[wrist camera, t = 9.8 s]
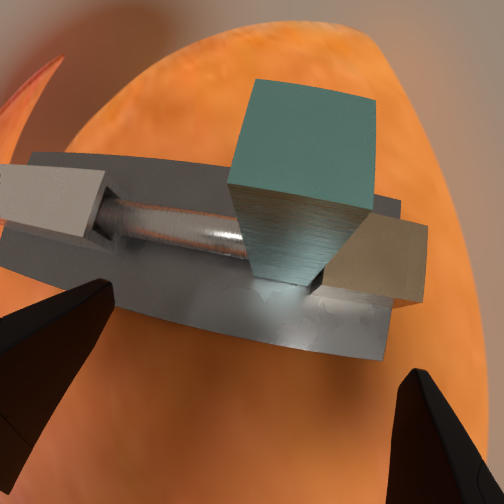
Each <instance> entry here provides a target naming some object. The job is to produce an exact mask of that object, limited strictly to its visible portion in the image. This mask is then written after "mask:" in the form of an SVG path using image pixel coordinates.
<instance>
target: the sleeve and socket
mask: <svg viewBox="0 0 504 504" xmlns="http://www.w3.org/2000/svg"><path fill="white" fill-rule="evenodd" d="M230 169H231V168H230V167H223V166H216V165H208V164H200V163H192V162H183V161H174V160H165V159H155V158H144V157H132V156H119V155H104V154H87V153H63V152H32V154H31V157H30V159H29V161H28V163H27V165H10V164H0V224H1V225H3V226H4V229H3V232H2V236H1V239H0V266H1V267H4V268H6V269H9V270H11V271H14V272H16V273H19V274H22V275H24V276H27V277H30V278H32V279H35V280H38V281H40V282H43V283H46V284H49V285H52V286H55V287H57V288H60V289H63V290H66V291H67V290H70V289H72V288H75V287H77V286H80V285H82V284H85V283H87V282H90V281H92V280H95V279H98V278H103V279H105V280H108V281H110V282H112V284H113V290H114V297H115V306H117V307H120V308H123V309H127V310H130V311H134V312H137V313H141V314H145V315H148V316H152V317H156V318H159V319H163V320H167V321H171V322H175V323H179V324H183V325H187V326H191V327H195V328H199V329H203V330H207V331H212V332H216V333H221V334H225V335H230V336H234V337H239V338H244V339H248V340H253V341H258V342H263V343H269V344H274V345H279V346H285V347H290V348H296V349H302V350H308V351H314V352H320V353H326V354H333V355H340V356H347V357H354V358H361V359H369V360H377V361H383V357H384V352H385V347H386V341H387V335H388V329H389V323H390V317H391V310H392V309H393V308H398V307H403V306H408V305H413V304H418V303H423V294H424V284H425V273H426V259H427V240H428V226H426V225H422V224H418V223H414V222H410V221H405V220H401V219H400V213H401V200H397V199H393V198H389V197H384V196H380V195H376V194H374V198H373V210H372V212H371V213H370V214H369V215H368V216H367V218H366V219H365V220H364V221H363V222H362V224H361V225H360V226H359V227H358V228H357V230H356V231H355V232H354V233H353V234H352V235H351V237H350V238H349V239H348V240H347V241H346V242H345V244H344V245H343V246H342V247H341V248H340V249H339V251H338V252H337V253H336V254H335V255H334V256H333V258H332V259H331V260H330V261H329V262H328V263H327V264H326V266H325V267H324V268H323V269H322V273H318V275H317V276H316V277H315V278H314V279H313V280H312V281H311V282H310V283H309V285H308V286H303V285H298V284H293V283H287V282H282V281H277V280H271V279H266V278H261V277H256V276H254V275H253V272H252V268H251V265H250V262H249V260H248V259H243V258H238V257H232V256H227V255H222V254H217V253H211V252H206V251H201V250H196V249H191V248H186V247H180V246H175V245H170V244H165V243H160V242H155V241H150V240H145V239H140V238H135V237H129V236H124V235H119V234H114V233H109V232H104V231H99V230H94V229H92V227H93V223H94V220H95V217H96V214H97V211H98V208H99V205H100V202H101V199H102V196H103V197H110V198H117V199H124V200H131V201H138V202H145V203H151V204H158V205H164V206H171V207H177V208H183V209H189V210H196V211H202V212H208V213H214V214H220V215H226V216H232V217H236V213H235V210H234V206H233V203H232V200H231V196H230V193H229V189H228V186H227V180H228V176H229V172H230Z"/></svg>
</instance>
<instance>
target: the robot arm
mask: <svg viewBox="0 0 504 504" xmlns="http://www.w3.org/2000/svg"><path fill="white" fill-rule="evenodd" d="M114 307H115V297H114V290H113V284H112V282H110V281H108V280H105V279H103V278H98V279H95V280H92V281H90V282H87V283H85V284H82V285H80V286H77V287H75V288H72V289H70V290H67V291H65V292H62V293H60V294H57V295H55V296H52V297H50V298H47V299H45V300H42V301H40V302H37V303H35V304H32V305H30V306H27V307H25V308H23V309H20V310H18V311H15V312H13V313H11V314H8V315H6V316H3V317H2V318H0V491H2V492H4V493H5V494H7V495H9V494H10V492H11V490H12V488H13V486H14V484H15V482H16V480H17V478H18V476H19V474H20V472H21V470H22V468H23V466H24V465H25V463H26V461H27V459H28V457H29V455H30V453H31V451H32V450H33V447H34V446H35V444H36V442H37V440H38V438H39V437H40V435H41V433H42V431H43V429H44V428H45V426H46V424H47V423H48V421H49V419H50V417H51V416H52V414H53V412H54V411H55V409H56V407H57V405H58V404H59V402H60V400H61V399H62V397H63V396H64V394H65V392H66V391H67V389H68V387H69V386H70V384H71V383H72V381H73V379H74V378H75V376H76V375H77V373H78V371H79V370H80V368H81V367H82V365H83V364H84V362H85V360H86V359H87V357H88V356H89V354H90V353H91V351H92V349H93V348H94V346H95V344H96V342H97V340H98V338H99V336H100V335H101V333H102V331H103V329H104V327H105V325H106V323H107V321H108V319H109V317H110V315H111V314H112V312H113V310H114ZM386 504H504V493H503V492H502V490H501V489H500V487H499V485H498V484H497V482H496V481H495V479H494V477H493V476H492V474H491V472H490V471H489V469H488V467H487V465H486V464H485V462H484V460H483V459H482V457H481V455H480V453H479V452H478V450H477V448H476V447H475V445H474V443H473V442H472V440H471V438H470V437H469V435H468V433H467V432H466V430H465V429H464V427H463V425H462V424H461V422H460V421H459V419H458V417H457V416H456V414H455V413H454V411H453V410H452V408H451V406H450V405H449V403H448V402H447V400H446V399H445V397H444V396H443V394H442V393H441V391H440V390H439V388H438V387H437V385H436V384H435V382H434V381H433V379H432V378H431V376H430V375H429V373H428V372H427V371H426V370H423V369H418V368H414V369H412V370H411V371H410V373H409V374H408V375H407V376H406V378H405V379H404V380H403V381H402V383H401V384H400V386H399V388H398V392H397V400H396V408H395V416H394V423H393V429H392V438H391V452H390V466H389V477H388V487H387V496H386Z"/></svg>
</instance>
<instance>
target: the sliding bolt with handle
mask: <svg viewBox="0 0 504 504" xmlns="http://www.w3.org/2000/svg"><path fill="white" fill-rule="evenodd" d="M375 157H376V100H372V99H368V98H364V97H360V96H356V95H351V94H347V93H342V92H337V91H333V90H327V89H322V88H317V87H311V86H305V85H299V84H293V83H286V82H279V81H271V80H262V79H256V80H255V83H254V86H253V90H252V93H251V97H250V100H249V103H248V107H247V110H246V114H245V117H244V121H243V125H242V128H241V132H240V135H239V139H238V143H237V146H236V150H235V154H234V157H233V161H232V165H231V169H230V172H229V176H228V180H227V186H228V189H229V193H230V196H231V200H232V203H233V206H234V210H235V213H236V217H232V216H226V215H220V214H214V213H208V212H202V211H196V210H189V209H183V208H177V207H171V206H164V205H158V204H151V203H145V202H138V201H131V200H124V199H117V198H110V197H103V196H102V199H101V202H100V205H99V208H98V211H97V214H96V217H95V220H94V223H93V227H92V229H94V230H99V231H104V232H109V233H114V234H119V235H124V236H129V237H135V238H140V239H145V240H150V241H155V242H160V243H165V244H170V245H175V246H180V247H186V248H191V249H196V250H201V251H206V252H211V253H217V254H222V255H227V256H232V257H238V258H243V259H248V260H249V262H250V265H251V268H252V272H253V275H254V276H256V277H261V278H266V279H271V280H277V281H282V282H287V283H293V284H298V285H303V286H308V285H309V283H310V282H311V281H312V280H313V279H314V278H315V277H316V276H317V275H318V273H322V269H323V268H324V267H325V266H326V264H327V263H328V262H329V261H330V260H331V259H332V258H333V256H334V255H335V254H336V253H337V252H338V251H339V249H340V248H341V247H342V246H343V245H344V244H345V242H346V241H347V240H348V239H349V238H350V237H351V235H352V234H353V233H354V232H355V231H356V230H357V228H358V227H359V226H360V225H361V224H362V222H363V221H364V220H365V219H366V218H367V216H368V215H369V214H370V213H371V212H372V210H373V198H374V181H375Z"/></svg>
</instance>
